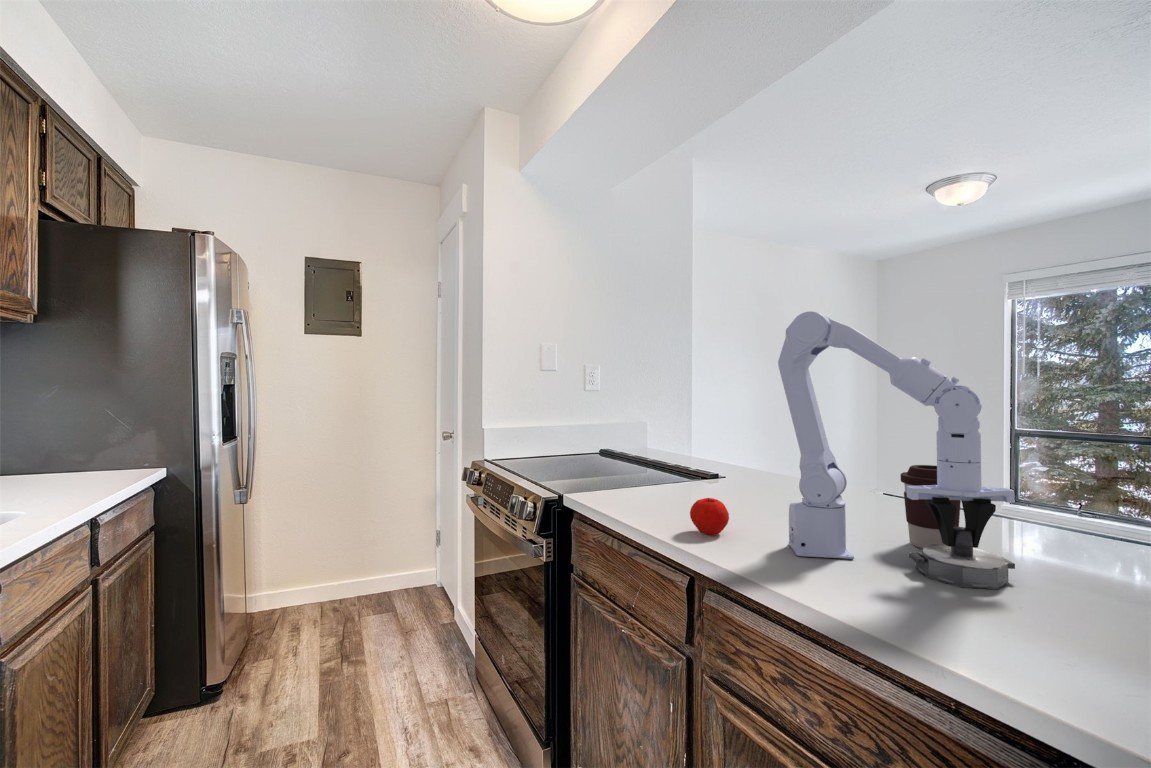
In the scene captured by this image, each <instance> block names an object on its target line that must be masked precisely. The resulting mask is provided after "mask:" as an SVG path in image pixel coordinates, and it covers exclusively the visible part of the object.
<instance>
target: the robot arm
mask: <svg viewBox="0 0 1151 768" xmlns="http://www.w3.org/2000/svg"><path fill="white" fill-rule="evenodd" d="M829 347H833V348H837V349H847V350H849V351H851V352H853V353H854V354H856V355H857V356H860V357H861V358H863V359H865V361H868V363H869V362H870V363H872V364H873V365H875V366H877V367H878V368H880V369H881V370H883V371H885V372H887V374H888V375H889V380H890V384H891V386H894V387H895V388H897V389H898V390H900V391H901V392H904V393H905V394H906V395H908V396H909V397H911V398H912V399H914V400H916V401H918V402H919V403H920V404H922V405H923V406H924V407H928V406H930V407H933V408H934V412H935V413H936V414H937V416H938V418H937V423H938V424H937V427H938V428H937V429H938V430H937V431H936V466H937V485H924V486H907V497H908V498H910V499H912V500H919V499H925V502H926V504H927V506H928V507H929V509H930V511H931V512H932V514H933V516H934V518H935V521H936V523H937V526H938V528H939V531H940V535H941V539H942V543H943V544H945V545H947V546H949V547H953V545H954V519H955V513H956V510H957V507H956V506H954V505H952V504H951V502H949V500H961V506H962V511H963V515H964V521H965V522H964V524H965V525H964V528H969V529H972V530H973V548H976V549H979V545H980V541H981V537H982V534H983V532H984V530H985V528H986V526H987V523H988V522H989V521H990V519H991V518H992V516H993V515H994V514H995V512H997V511H996V510H997V508H996V507H997V506H996V504H994V503H992V502H1004V503H1011V504H1012V503H1013V504H1014V503H1016V502H1015V490H1014V489H1010V488H1007V487H1006V488H1005V487H991V486H989V487H988V486H982V445H981V444H982V441H981V440H982V439H981V437H982V435H981V433H980V431H979V429H980V428H981V427H980V420H979V418H978V416H980V413H981V411H982V406H983V405H982V404H981V401H980V398H979V396H978V395H977V393H975V392H974V391H973V390H972V389H971V388H969V387H968V386H966V385H961V384H960V385H958V383H959V382H960V379H959V378H957V377H956V376H952V377H950V376H948V375H946V374H944V373H943V372H941V371H940V370H938V369H936V368H935V367H933V366H931V365H930V364H932V363H931V361H930V360H928V359H926V358H925V357H923V358H921V359H919V358H917V357H916V356H910V357H904V358H901V357H900V356H898V355H897V354H895V353H893V352H891V351H890V350H888V349H887V348H885V347H884V346H882V345H881V344H879V343H878V342H876V341H874V340H873V339H871V337H868V336H866V335H865V334H864V333H862V332H861V331H859V330H857V329H855V328H853V327H852V326H849V325H847V324H844V323H841V322H840V321H837V320H834V319H831V318H830V317H827V316H824V315H823V314H821V313H819V312H817V311H805V312H804V311H803V312H802V313H800V314H798V315H797V316H796V317H795V318H793V320H792V321H791V323H790V324H789V325H788V327H787V328H786V330H785V339H784V341H783V344H782V348H781V351H780V354H779V357H778V361H777V362H778V363H777V365H778V370H779V374H780V379H781V382H782V385H783V389H784V393H785V397H786V400H787V406H788V410H789V414H790V416H791V420H792V424H793V428H794V432H795V436H796V441H797V445H798V448H799V451H800V459H799V465H798V466H799V469H800V470H799V471H800V479H799V483H798V484H799V485H798V488H799V493H800V495H801V496H802V498H801V502H791V503H790V504H789V505H788V506H789V507H788V545H789V546H790V548H791V549H792V551H793V552H794V553H795V555H796V556H797V557H805V558H806V557H810V558H812V557H813V558H828V559H829V558H830V559H832V558H833V559H845V560H847V559H848V560H853V559H855V556H854V555H853V554H852V553H851V551H849V550H848V549H847V538H846V537H847V534H846V533H847V531H846V530H847V529H846V528H847V526H846V501H845V500H844V499H843V497H842V495H841V494H843V492H845V490H846V487H847V477H846V475H845V473H844V472H843V471H842V469H841V468H840V467H839V466H838V463H837V460H836V458H835V456H834V453H833V452H832V451H831V449H830V445H829V443H828V438H827V434H826V431H825V428H824V427H825V426H824V423H823V419H822V416H821V412H820V408H819V404H818V401H817V396H816V392H815V389H814V385H813V381H812V378H811V374H810V369H809V367H810V366H811V365H812V364H813V362H814V361H815V359H816V358H817V356H818V355H819V354H821V353H822V352H823V351H825V350H826V349H828V348H829ZM949 495H950V496H949Z"/></svg>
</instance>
